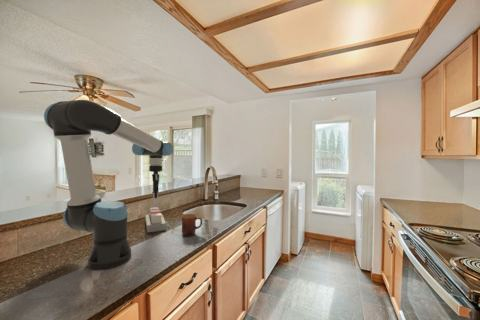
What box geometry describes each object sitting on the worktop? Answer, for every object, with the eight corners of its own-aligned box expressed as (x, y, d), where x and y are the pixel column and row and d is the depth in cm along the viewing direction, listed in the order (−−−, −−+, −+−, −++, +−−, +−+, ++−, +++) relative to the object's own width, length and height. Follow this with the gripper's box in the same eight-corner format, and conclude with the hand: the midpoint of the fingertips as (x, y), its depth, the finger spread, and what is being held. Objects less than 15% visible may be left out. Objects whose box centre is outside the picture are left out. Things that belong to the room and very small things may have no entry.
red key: (151, 219, 123) (151, 212, 123) (150, 217, 127) (150, 210, 127) (159, 218, 125) (159, 211, 125) (159, 216, 129) (159, 209, 129)
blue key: (150, 216, 129) (150, 209, 129) (149, 214, 134) (149, 207, 134) (158, 215, 132) (158, 208, 132) (157, 213, 136) (158, 207, 136)
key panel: (147, 232, 114) (147, 225, 114) (145, 220, 134) (145, 214, 134) (166, 229, 118) (166, 223, 118) (161, 219, 139) (161, 213, 139)
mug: (177, 236, 108) (178, 217, 108) (184, 231, 117) (184, 213, 117) (199, 238, 107) (199, 218, 107) (204, 232, 116) (204, 214, 116)
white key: (151, 223, 116) (152, 216, 116) (151, 221, 120) (151, 213, 120) (161, 222, 118) (161, 215, 118) (160, 220, 123) (160, 213, 123)
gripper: (163, 165, 122) (163, 204, 122) (161, 164, 133) (160, 200, 134) (149, 165, 118) (149, 205, 119) (148, 164, 130) (148, 201, 130)
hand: (155, 202), depth 126 cm, fingers closed
